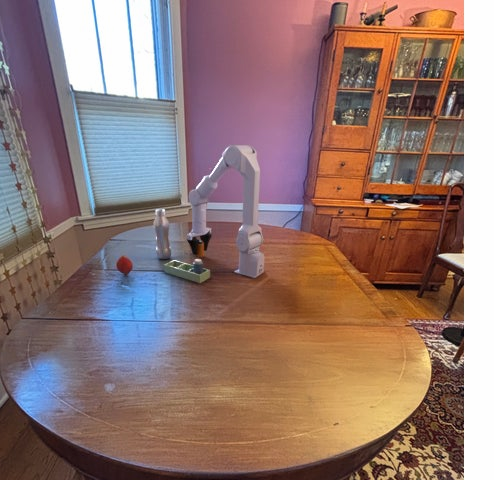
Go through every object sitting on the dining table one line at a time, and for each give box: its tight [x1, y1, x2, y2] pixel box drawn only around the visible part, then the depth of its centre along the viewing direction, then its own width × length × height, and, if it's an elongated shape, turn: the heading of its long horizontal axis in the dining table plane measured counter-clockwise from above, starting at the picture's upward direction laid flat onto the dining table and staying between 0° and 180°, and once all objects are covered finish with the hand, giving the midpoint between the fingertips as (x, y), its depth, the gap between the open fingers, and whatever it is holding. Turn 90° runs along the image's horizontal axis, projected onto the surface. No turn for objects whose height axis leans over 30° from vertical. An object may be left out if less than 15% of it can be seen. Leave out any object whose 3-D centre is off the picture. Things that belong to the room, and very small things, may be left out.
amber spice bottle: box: [195, 239, 205, 258], centre depth 130 cm, size 4×4×7 cm
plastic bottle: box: [153, 208, 172, 260], centre depth 124 cm, size 6×7×20 cm
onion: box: [115, 254, 134, 276], centre depth 111 cm, size 6×6×8 cm
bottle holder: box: [163, 259, 211, 284], centre depth 112 cm, size 17×6×4 cm, turn 57°
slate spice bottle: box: [192, 258, 204, 275], centre depth 109 cm, size 4×4×7 cm
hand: (199, 252), depth 131 cm, fingers open, 6 cm apart
